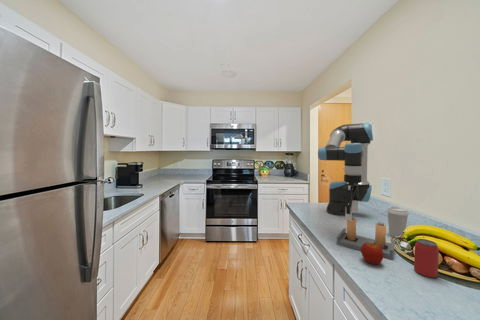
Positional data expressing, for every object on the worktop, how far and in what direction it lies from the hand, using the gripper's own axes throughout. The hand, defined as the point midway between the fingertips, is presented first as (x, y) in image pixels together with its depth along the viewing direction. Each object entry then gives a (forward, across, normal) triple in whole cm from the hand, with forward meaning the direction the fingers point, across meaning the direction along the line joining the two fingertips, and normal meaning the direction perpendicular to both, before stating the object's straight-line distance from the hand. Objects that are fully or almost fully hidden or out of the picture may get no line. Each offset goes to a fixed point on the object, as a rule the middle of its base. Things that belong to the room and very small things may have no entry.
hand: (351, 216), depth 101 cm
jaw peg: (+13, +1, 0) cm, 13 cm away
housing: (+13, +1, +6) cm, 15 cm away
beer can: (+13, +11, +27) cm, 32 cm away
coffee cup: (+14, -24, +17) cm, 32 cm away
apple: (+13, +15, +10) cm, 23 cm away
